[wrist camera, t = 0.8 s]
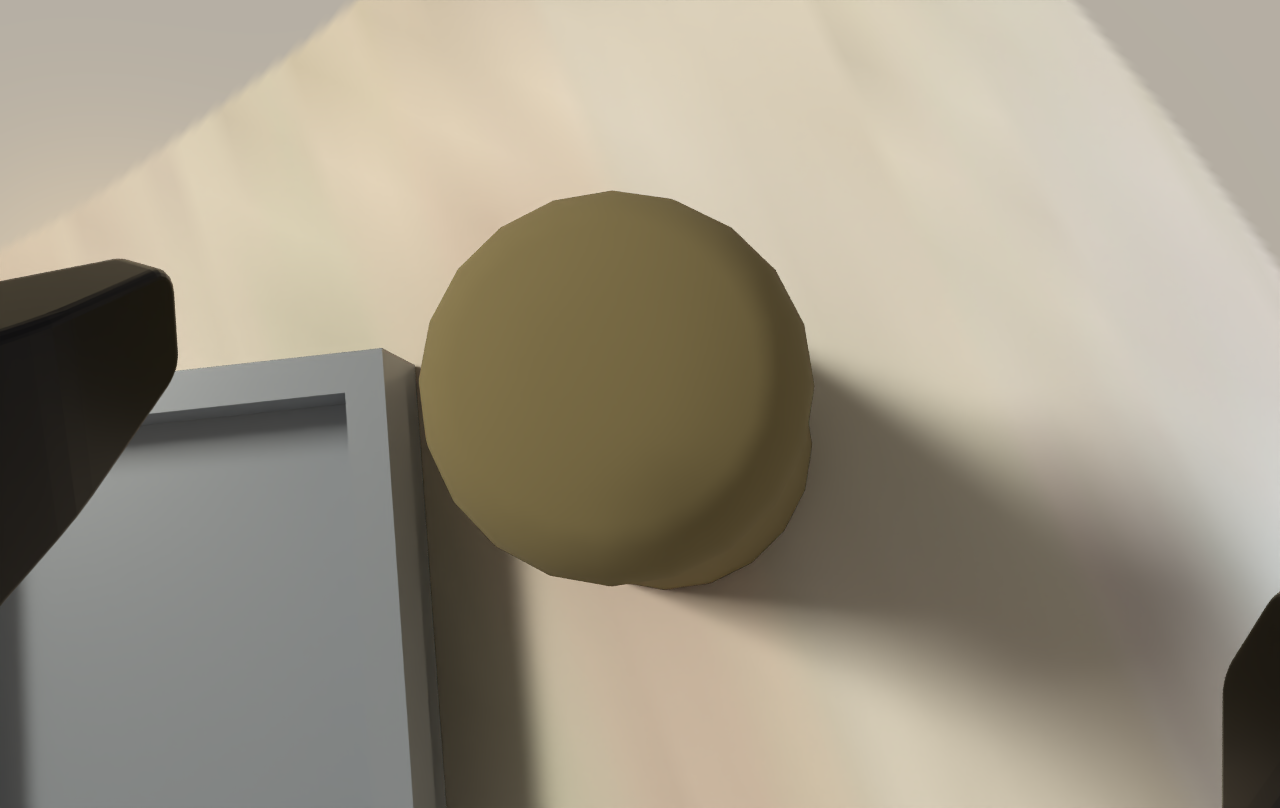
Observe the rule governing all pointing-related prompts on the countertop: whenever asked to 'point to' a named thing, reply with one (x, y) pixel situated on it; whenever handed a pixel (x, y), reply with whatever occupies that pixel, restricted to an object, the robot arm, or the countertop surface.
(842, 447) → the countertop surface
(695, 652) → the countertop surface
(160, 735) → the grey tray
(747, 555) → the cork
